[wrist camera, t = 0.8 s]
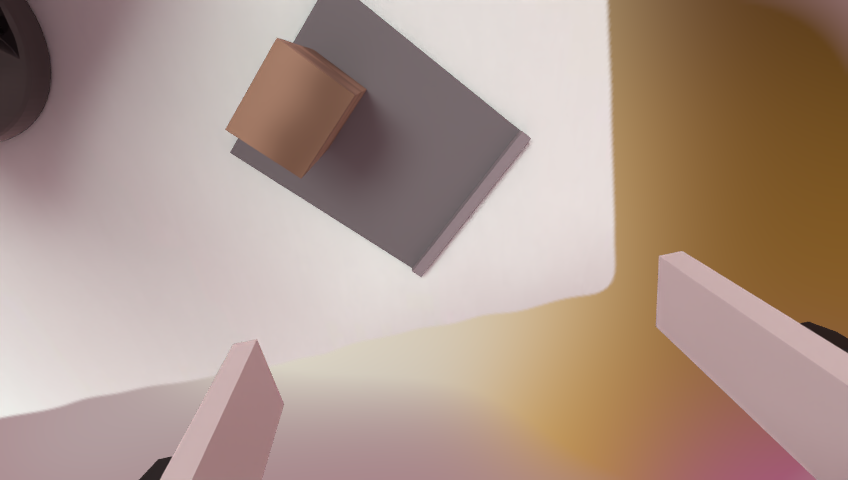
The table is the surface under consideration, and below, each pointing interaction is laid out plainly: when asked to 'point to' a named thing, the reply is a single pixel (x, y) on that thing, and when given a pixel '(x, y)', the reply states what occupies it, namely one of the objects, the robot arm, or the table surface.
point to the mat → (397, 140)
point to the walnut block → (295, 106)
